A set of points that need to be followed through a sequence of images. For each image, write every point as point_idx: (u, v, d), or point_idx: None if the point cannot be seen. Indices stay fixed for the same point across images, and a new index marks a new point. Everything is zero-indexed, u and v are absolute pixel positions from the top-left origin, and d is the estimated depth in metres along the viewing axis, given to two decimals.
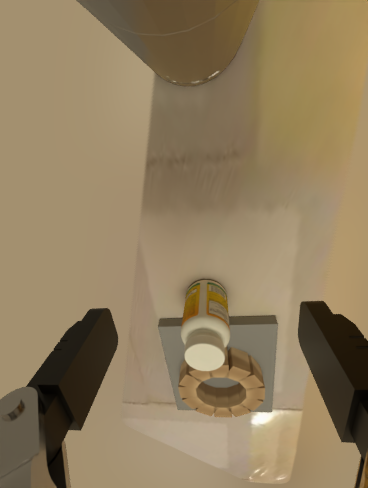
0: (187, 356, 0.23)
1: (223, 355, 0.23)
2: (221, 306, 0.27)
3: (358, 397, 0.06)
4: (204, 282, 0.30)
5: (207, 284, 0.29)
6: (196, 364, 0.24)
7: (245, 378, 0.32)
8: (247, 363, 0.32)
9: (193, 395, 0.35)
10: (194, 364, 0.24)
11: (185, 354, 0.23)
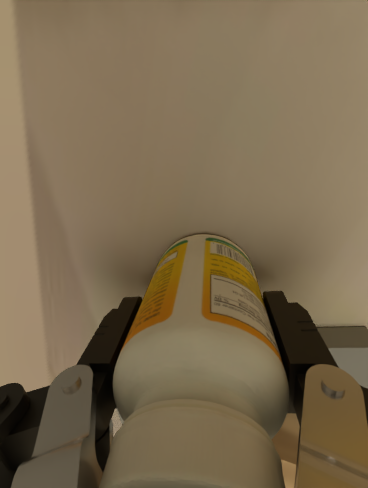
0: None
1: None
2: (251, 294, 0.08)
3: (294, 370, 0.07)
4: (198, 238, 0.11)
5: (205, 241, 0.11)
6: None
7: None
8: None
9: None
10: None
11: None
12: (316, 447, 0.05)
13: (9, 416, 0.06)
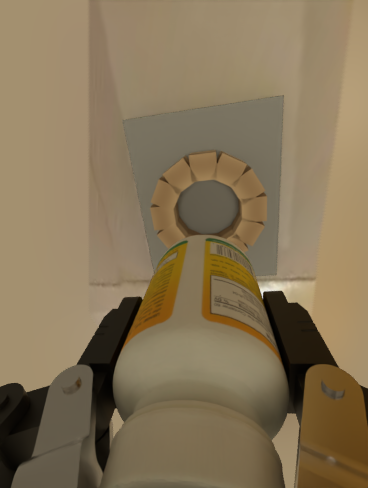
0: None
1: None
2: (251, 295, 0.08)
3: (294, 370, 0.07)
4: (198, 239, 0.11)
5: (205, 242, 0.11)
6: None
7: (240, 177, 0.23)
8: (242, 161, 0.24)
9: (170, 222, 0.26)
10: None
11: None
12: (316, 447, 0.05)
13: (9, 416, 0.06)
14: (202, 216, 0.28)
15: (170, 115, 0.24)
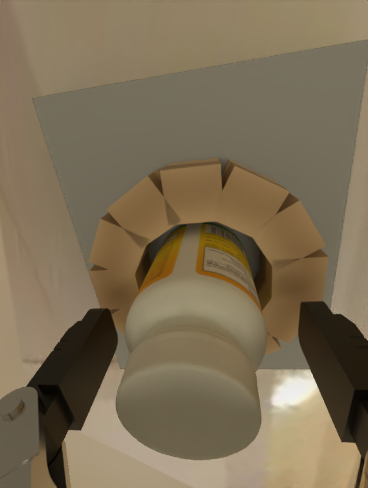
0: (125, 411, 0.07)
1: (256, 411, 0.06)
2: (238, 263, 0.10)
3: (358, 397, 0.06)
4: None
5: (201, 224, 0.13)
6: (160, 438, 0.07)
7: (272, 218, 0.11)
8: (276, 183, 0.11)
9: (131, 297, 0.13)
10: (153, 438, 0.07)
11: (118, 404, 0.07)
12: None
13: None
14: None
15: (126, 87, 0.12)
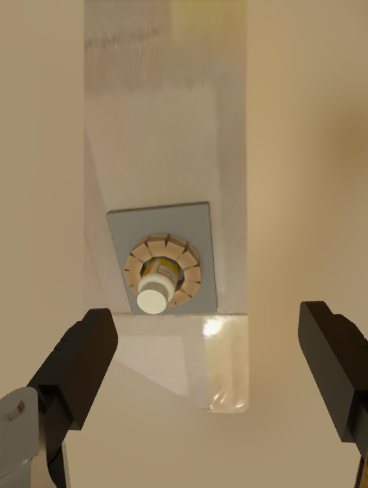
0: (139, 301, 0.32)
1: (164, 299, 0.31)
2: (169, 269, 0.35)
3: (358, 397, 0.06)
4: None
5: None
6: (146, 308, 0.32)
7: (180, 255, 0.36)
8: (183, 244, 0.36)
9: (138, 280, 0.38)
10: (145, 308, 0.32)
11: (137, 300, 0.32)
12: None
13: None
14: None
15: (137, 212, 0.37)
